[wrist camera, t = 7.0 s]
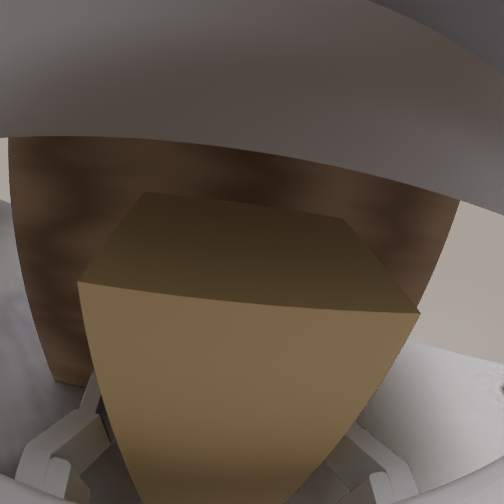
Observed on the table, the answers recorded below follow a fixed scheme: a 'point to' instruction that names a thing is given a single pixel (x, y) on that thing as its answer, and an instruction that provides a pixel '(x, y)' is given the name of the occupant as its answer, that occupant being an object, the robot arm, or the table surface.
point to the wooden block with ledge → (244, 126)
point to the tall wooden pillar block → (235, 344)
